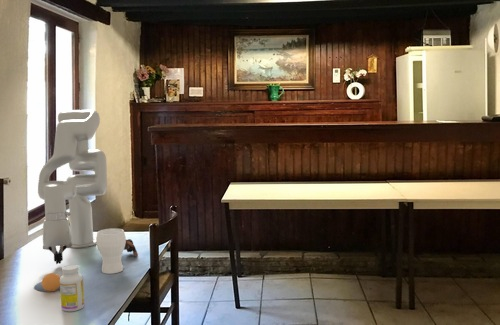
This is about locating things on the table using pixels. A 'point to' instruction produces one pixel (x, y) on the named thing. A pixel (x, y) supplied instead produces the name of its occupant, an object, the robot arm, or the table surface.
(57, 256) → the robot arm
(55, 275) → the ball
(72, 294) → the supplement bottle
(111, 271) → the cup
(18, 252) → the table surface
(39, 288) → the disc
